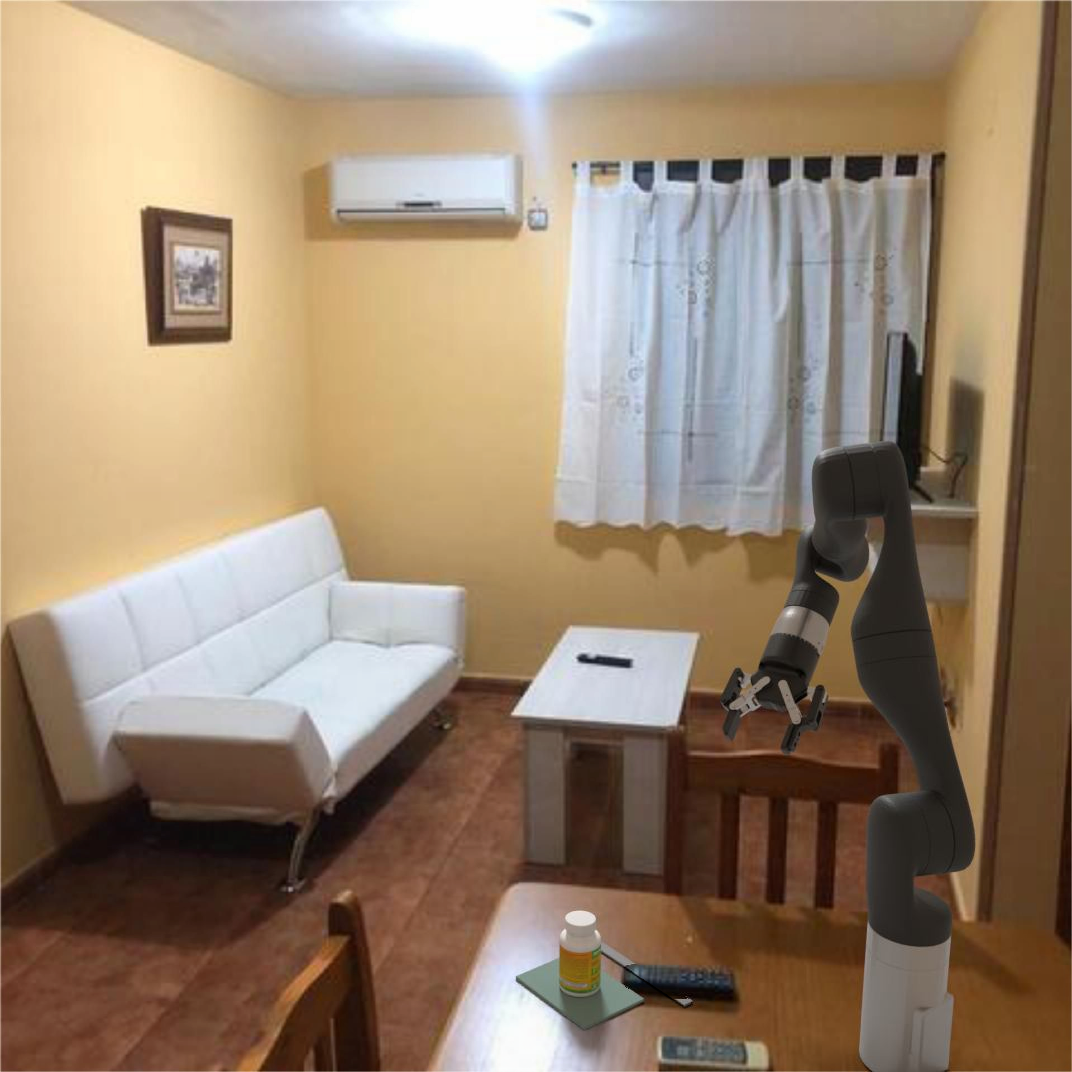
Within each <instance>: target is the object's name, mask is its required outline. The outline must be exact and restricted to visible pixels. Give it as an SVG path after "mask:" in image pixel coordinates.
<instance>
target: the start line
mask: <svg viewBox="0 0 1072 1072" xmlns="http://www.w3.org/2000/svg"><path fill="white" fill-rule="evenodd" d="M601 954H603V955H604V956H606V957H608V958H609V959H610V960H612V961H613V962H615V963H617V964H618V965H620V966H621V967H623V968H624V967H625V966H626V965H631V964H636V963H635V962H633V961H632V960H630V959H629V958H627V957H626V956H625V955H623V954H621V953H620V952H618V951H617V950H616V949H614V948H612V947H611V946H609V945H607V944H606V943H604V942H603V941H601ZM688 998H689V997H688ZM688 998H687V999H675V1000H677V1001H678V1002H679V1003H680V1004H681V1005H680V1004H679V1003H678V1004H679V1005H680V1006H682V1005H683V1006H682V1007H683V1008H685V1007H687V1006H689V1005H691V1004H692V1003H691V1002H693V1000H692V999H691V998H689V999H688Z"/></svg>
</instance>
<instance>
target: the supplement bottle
mask: <svg viewBox="0 0 1072 1072" xmlns="http://www.w3.org/2000/svg"><path fill="white" fill-rule="evenodd" d="M596 926H597V918H596V916H595V915H594V914H593V913H592V912H589V911H586V910H574V911H570V912H569V913H567V914H566V915H565V918H564V929H563V930H562V931H561V933H560V935H559V949H558V951H559V956H558V958H559V986H560V988H561V990H562V991H563V992H564V993H566V994H568V995H570V996H574V997H587V996H591V995H593V994H595V993H596V992H597V991H598V990H599V988H600V978H601V970H602V969H601V967H602V953H601V942H602V937H601V934H600V933H599V931H598V930H597V927H596Z"/></svg>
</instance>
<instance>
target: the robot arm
mask: <svg viewBox="0 0 1072 1072" xmlns="http://www.w3.org/2000/svg"><path fill="white" fill-rule="evenodd" d="M906 467H907V466H906V464H905V460H904V456H903V453H902V451H901V449H900V447H899V446H898V444H896V442H893V441H890V440H883V441H882V440H881V441H873V442H866V443H858V444H851V445H850V444H848V445H843V446H835V447H834V446H833V447H830V448H827V449H825V450H821V451H820V452H819V453H818V454H817V455H816V457H815V458H814V460H813V464H812V469H811V494H812V507H813V514H814V520H815V521H814V523H811V524H810V525H807V526H805V528H804V529H802V531H801V533H800V534H799V536H798V540H797V544H796V551H795V552H796V553H795V568H794V569H795V570H794V576H793V577H794V578H793V581H792V584H791V588H790V591H789V593H788V596H787V598H786V602H785V603H784V606H783V609H782V611H781V613H780V614H779V616H778V617H777V619H776V621H775V623H774V625H773V628H772V631H771V633H770V636H769V638H768V640H767V643H766V645H765V647H764V650H763V652H762V655H761V657H760V660H759V664H758V667H757V670H756V671H755V672H754V673H747V672H745V671H743V669H742V668H741V667H736V668H734V669H733V671H732V673H731V675H730V677H729V679H728V681H727V683H726V686H725V687H724V689H723V691H722V694H721V695H720V698H719V702H720V703H721V705H722V707H723V708H724V710H725V711H726V712H728V713H727V715H726V717H725V719H724V720H725V721H724V722H723V725H722V729H721V730H722V733H723V735H724V738H725V739H726V740H727V741H731V742H733V741H734V739H735V736H736V735H737V732H738V729H739V727H740V724H741V722H742V718H743V716H744V715H746V714H748V713H749V712H754V711H755V710H757V709H758V708H760V707H762V709H767V710H775V711H778V712H779V713H784V712H785V711H788V714H789V717H790V720H791V722H792V723H789V724H788V726H787V728H786V731H785V733H784V736H783V739H782V740H781V744H780V751H781V752H782V754H783V755H786V756H790V754H791V753H794V752H795V751H796V749H797V747H798V745H799V741H800V739H801V737H802V734H803V733H804V732H806V731H812V732H818V731H819V729H820V727H821V723H822V720H823V717H824V713H825V711H826V706H827V703H828V700H829V698H830V697H829V694H828V692H827V690H826V688H825V686H824V685H823V684H817V685H816V686H811V685H810V683H811V682H812V679H813V676H814V673H815V671H816V668H817V667H818V663H819V660H820V658H821V655H822V654H823V652H824V650H825V645H826V642H827V639H828V634H829V633H828V632H829V630H830V627H831V624H832V622H833V619H834V616H835V613H836V612H837V608H838V606H839V603H840V593H839V592H838V589H837V588H835V586H834V585H833V584H831V583H830V582H829V581H827V580H825V579H824V578H822V577H821V576H820V575H818V574H821V575H822V576H823V575H824V576H826V577H829V578H830V579H831V578H832V579H834V580H837V581H840V582H843V583H850V582H851V583H852V582H855V581H856V580H858V579H859V578H861V576H862V575H864V573H865V572H866V569H867V566H868V564H869V560H870V546H869V542H868V539H867V537H866V534H867V528H868V524H867V523H868V522H867V519H875V518H879V517H880V518H882V519H883V524H884V525H883V526H884V527H883V528H884V532H883V542H882V545H881V549H880V553H879V557H878V558H877V559H878V560H877V562H876V565H875V568H874V570H873V573H872V574H871V577H870V579H869V581H868V583H867V585H866V587H865V589H864V591H863V593H862V595H861V597H860V599H859V602H858V604H857V606H856V609H855V611H854V614H853V615H852V619H851V625H850V637H851V642H852V643H851V644H852V648H853V655H854V657H853V658H854V662H855V668H856V674H857V678H858V681H859V684H860V686H861V688H862V691H863V692H864V693H865V695H866V697H867V698H868V699H869V701H870V702H871V703H872V704H873V707H875V709H876V710H877V711H878V712H879V714H880V715H882V717H883V719H885V721H886V722H887V723H888V725H890V726H891V728H892V729H893V731H894V732H895V733H896V734H897V736H898V737H899V738H900V740H901V741H902V743H903V744H904V746H905V748H906V750H907V752H908V755H909V756H910V759H911V762H912V764H913V767H914V771H915V773H916V774H915V775H916V778H917V782H918V789H919V791H913V792H911V791H910V792H900V793H892V794H890V793H889V794H884V795H880V796H878V797H876V798H874V800H873V802H872V803H871V805H870V807H869V810H868V813H867V818H866V826H865V828H866V829H865V832H866V833H865V854H866V855H865V895H866V903H867V909H868V910H867V929H866V930H867V931H866V941H865V942H866V943H865V955H864V957H865V958H864V970H863V971H864V972H863V985H862V986H863V987H862V998H861V999H862V1000H861V1002H862V1003H861V1013H860V1014H861V1015H860V1016H861V1017H860V1032H859V1034H860V1035H859V1049H858V1052H859V1053H858V1054H859V1057H860V1059H861V1061H862V1063H863V1064H864V1066H866V1067H867V1068H868V1069H869V1070H870V1071H872V1072H945V1071H946V1070H948V1069H949V1062H950V1061H949V1060H950V1048H951V1037H952V1025H953V1023H952V1022H953V1013H954V1011H953V1010H954V1000H955V999H954V995H953V994H952V993H949V992H948V991H947V990H948V980H949V979H948V977H949V965H950V956H951V955H950V952H951V941H952V939H951V938H952V929H953V912H952V910H951V908H950V906H949V905H948V903H947V902H946V901H945V900H944V899H943V898H941V897H940V896H938V895H937V894H935V893H933V892H931V891H929V890H927V889H923V888H922V887H918V886H915V878H916V877H924V876H933V875H941V874H942V875H943V874H951V873H957V872H958V873H959V872H961V871H965V870H966V869H967V868H969V867H970V866H971V865H972V862H973V860H974V858H975V853H976V833H975V832H976V831H975V825H974V820H973V815H972V810H971V807H970V803H969V799H968V796H967V795H968V794H967V792H966V787H965V784H964V781H963V777H962V773H961V769H960V766H959V762H958V759H957V755H956V751H955V748H954V744H953V740H952V736H951V732H950V726H949V722H948V721H949V720H948V717H947V711H946V708H945V707H946V706H945V702H944V701H945V700H944V695H943V690H942V686H941V685H942V684H941V680H940V679H941V678H940V672H939V664H938V658H937V657H938V656H937V653H936V652H937V651H936V646H935V640H934V636H933V635H934V634H933V630H932V626H931V625H932V624H931V620H930V615H929V611H928V607H927V600H926V598H925V593H924V588H923V583H922V577H921V573H920V567H919V561H918V554H917V547H916V537H915V531H914V529H915V528H914V520H913V519H914V518H913V512H912V505H911V504H912V503H911V495H910V488H909V487H910V486H909V480H908V472H907V468H906ZM749 684H751V686H750V687H749V688H748V689H746V688H747V686H748V685H749ZM743 689H746V690H744V691H743V692H742V690H743ZM741 692H742V693H741ZM740 695H741V696H740ZM808 696H809V697H808ZM754 697H755V698H754ZM807 697H808V698H809V700H810V705H809V707H808V711H807V714H806V717H803V716H802V714H801V710H800V709H799V706H798V704H799V703H800V702H802V701H803V700H805V699H806V698H807ZM753 698H754V699H753Z"/></svg>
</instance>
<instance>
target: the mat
mask: <svg viewBox="0 0 1072 1072" xmlns="http://www.w3.org/2000/svg"><path fill="white" fill-rule="evenodd" d="M516 980H517V982H519V983H521V984H522V986H524V987H526V988H527V989H528V990H530V991H531V992H532V993H534V994H535V995H536V996H537V997H539V998H541V1000H543V1001H545V1002H546V1003H547V1004H549V1006H551V1007H552V1008H553V1009H555V1010H556V1011H558V1012H559V1013H560V1014H561V1015H563V1016H565V1017H566V1018H567V1019H568V1020H570V1021H571V1022H572V1023H574V1024H575V1025H576V1026H577V1027H579V1028H580V1029H581V1030H583V1031H586V1030H588V1029H591V1028H592V1027H594V1026H596V1025H598V1024H600V1023H602V1022H604V1021H607V1020H609V1019H611V1018H612V1017H615V1016H616V1015H619V1014H621V1013H623V1012H625V1011H627V1010H629V1009H631V1008H633V1007H635V1006H638V1005H639V1004H641V1003H644V1002H645V998H644V997H642V996H640V995H639V994H638V993H636V992H635V991H634V990H632V989H630V988H629V987H627V986H626V985H624V984H623V983H622V982H620V981H619V980H617V979H616V978H614V977H612V975H609V974H608V973H607V972H605V971H603V969H601V978H600V988H599V990H598V991H597V992H596V993H595V994H593V995H591V996H587V997H574V996H570V995H568V994H566V993H564V992H563V991H562V990H561V988H560V986H559V957H558V958H555V959H554V960H551V961H548V962H546V963H543V964H541V965H539V966H537V967H534V968H531V969H529V970H527V971H525V972H522V973H520V974H517V975H515V981H516ZM625 986H626V987H627V988H626V987H625ZM628 988H629V989H628Z"/></svg>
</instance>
